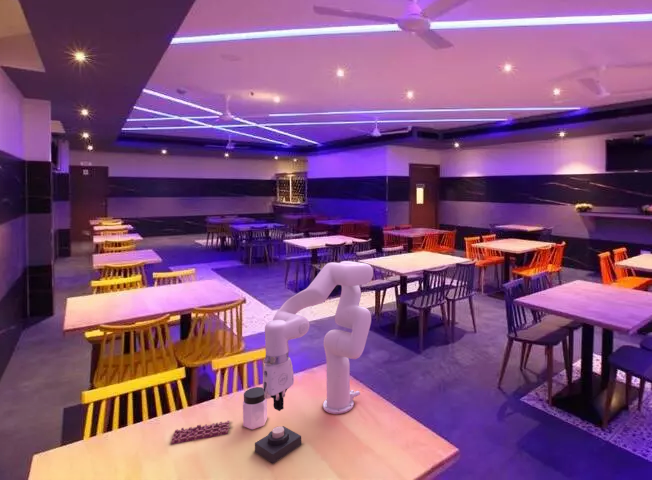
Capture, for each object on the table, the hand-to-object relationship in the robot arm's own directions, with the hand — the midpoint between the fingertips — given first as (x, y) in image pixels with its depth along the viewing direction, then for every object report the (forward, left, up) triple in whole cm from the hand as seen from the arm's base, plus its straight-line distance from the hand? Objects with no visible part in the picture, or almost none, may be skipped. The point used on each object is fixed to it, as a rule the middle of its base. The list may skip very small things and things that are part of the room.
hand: (278, 408), depth 138 cm
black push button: (0, 0, -14) cm, 14 cm away
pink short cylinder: (0, 0, -9) cm, 9 cm away
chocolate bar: (+19, -26, -14) cm, 35 cm away
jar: (+1, -20, -14) cm, 24 cm away
